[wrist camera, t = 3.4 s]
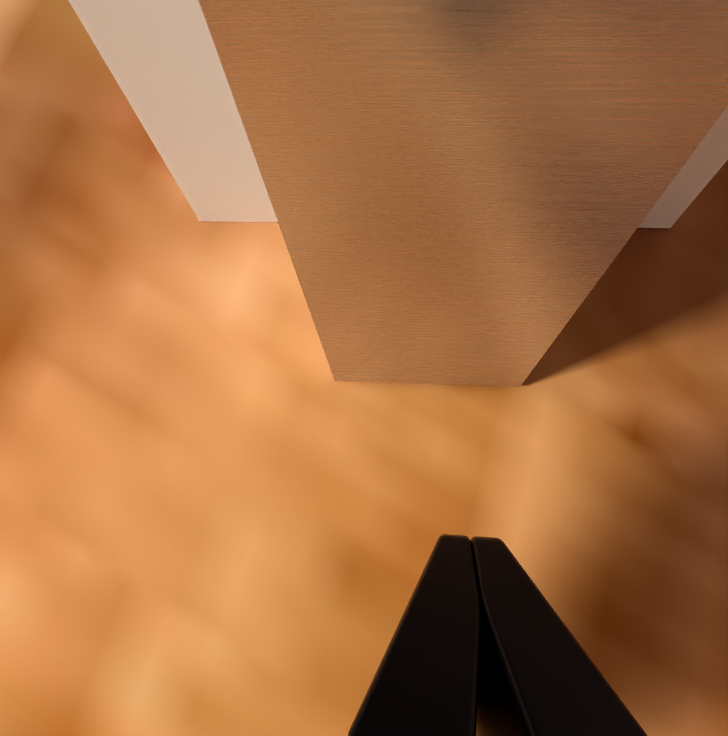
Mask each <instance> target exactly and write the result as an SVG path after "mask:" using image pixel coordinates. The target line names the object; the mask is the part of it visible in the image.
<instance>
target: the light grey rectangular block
mask: <svg viewBox="0 0 728 736" xmlns="http://www.w3.org/2000/svg"><path fill="white" fill-rule="evenodd" d="M199 3H200V6H201V9H202V11H203V14H204V17H205V20H206V22H207V25H208V28H209V31H210V34H211V36H212V39H213V42H214V45H215V48H216V50H217V53H218V56H219V59H220V62H221V64H222V67H223V70H224V73H225V75H226V78H227V81H228V84H229V87H230V89H231V92H232V95H233V98H234V101H235V103H236V106H237V109H238V112H239V115H240V117H241V120H242V123H243V126H244V129H245V131H246V134H247V137H248V140H249V142H250V145H251V148H252V151H253V154H254V156H255V159H256V162H257V165H258V168H259V170H260V173H261V176H262V179H263V182H264V184H265V187H266V190H267V193H268V195H269V198H270V201H271V204H272V207H273V209H274V212H275V215H276V218H277V221H278V223H279V226H280V229H281V232H282V235H283V237H284V240H285V243H286V246H287V249H288V251H289V254H290V257H291V260H292V262H293V265H294V268H295V271H296V274H297V276H298V279H299V282H300V285H301V288H302V290H303V293H304V296H305V299H306V302H307V304H308V307H309V310H310V313H311V315H312V318H313V321H314V324H315V327H316V329H317V332H318V335H319V338H320V341H321V343H322V346H323V349H324V352H325V355H326V357H327V360H328V363H329V366H330V369H331V371H332V374H333V377H334V380H335V381H350V382H382V383H414V384H446V385H478V386H509V387H520V386H521V385H522V383H523V382H524V381H525V379H526V378H527V377H528V375H529V374H530V373H531V371H532V370H533V369H534V367H535V366H536V364H537V363H538V362H539V360H540V359H541V358H542V356H543V355H544V354H545V352H546V351H547V350H548V348H549V347H550V346H551V344H552V343H553V341H554V340H555V339H556V337H557V336H558V335H559V333H560V332H561V331H562V329H563V328H564V327H565V325H566V324H567V323H568V321H569V320H570V318H571V317H572V316H573V314H574V313H575V312H576V310H577V309H578V308H579V306H580V305H581V304H582V302H583V301H584V300H585V298H586V297H587V295H588V294H589V293H590V291H591V290H592V289H593V287H594V286H595V285H596V283H597V282H598V281H599V279H600V278H601V277H602V275H603V274H604V272H605V271H606V270H607V268H608V267H609V266H610V264H611V263H612V262H613V260H614V259H615V258H616V256H617V255H618V254H619V252H620V251H621V249H622V248H623V247H624V245H625V244H626V243H627V241H628V240H629V239H630V237H631V236H632V235H633V233H634V232H635V231H636V229H637V228H638V226H639V225H640V224H641V222H642V221H643V220H644V218H645V217H646V216H647V214H648V213H649V212H650V210H651V209H652V208H653V206H654V205H655V203H656V202H657V201H658V199H659V198H660V197H661V195H662V194H663V193H664V191H665V190H666V189H667V187H668V186H669V185H670V183H671V182H672V180H673V179H674V178H675V176H676V175H677V174H678V172H679V171H680V170H681V168H682V167H683V166H684V164H685V163H686V162H687V160H688V159H689V157H690V156H691V155H692V153H693V152H694V151H695V149H696V148H697V147H698V145H699V144H700V143H701V141H702V140H703V139H704V137H705V136H706V134H707V133H708V132H709V130H710V129H711V128H712V126H713V125H714V124H715V122H716V121H717V120H718V118H719V117H720V116H721V114H722V113H723V111H724V110H725V109H726V107H727V106H728V0H199Z"/></svg>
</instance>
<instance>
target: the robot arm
mask: <svg viewBox="0 0 728 736" xmlns="http://www.w3.org/2000/svg"><path fill="white" fill-rule="evenodd" d="M348 736H647V734H646V733H645V732H644V730H643V729H642V728H641V726H640V725H639V724H638V722H637V721H636V720H635V718H634V717H633V716H632V714H631V713H630V712H629V710H628V709H627V708H626V706H625V705H624V704H623V702H622V701H621V700H620V698H619V697H618V695H617V694H616V693H615V691H614V690H613V689H612V687H611V686H610V685H609V683H608V682H607V681H606V679H605V678H604V677H603V675H602V674H601V673H600V671H599V670H598V669H597V667H596V666H595V665H594V663H593V662H592V661H591V659H590V658H589V657H588V655H587V654H586V652H585V651H584V650H583V648H582V647H581V646H580V644H579V643H578V642H577V640H576V639H575V638H574V636H573V635H572V634H571V632H570V631H569V630H568V628H567V627H566V626H565V624H564V623H563V622H562V620H561V619H560V618H559V616H558V615H557V613H556V612H555V611H554V609H553V608H552V607H551V605H550V604H549V603H548V601H547V600H546V599H545V597H544V596H543V595H542V593H541V592H540V591H539V589H538V588H537V587H536V585H535V584H534V583H533V581H532V580H531V579H530V577H529V576H528V575H527V573H526V572H525V570H524V569H523V568H522V566H521V565H520V564H519V562H518V561H517V560H516V558H515V557H514V556H513V554H512V553H511V552H510V550H509V549H508V548H507V546H506V545H505V544H504V542H503V541H502V540H500V539H499V538H492V537H477V536H475V537H473V538H471V540H470V539H469V538H468V537H467V536H462V535H448V534H443V535H441V536H440V537H439V538H438V540H437V542H436V545H435V547H434V549H433V551H432V553H431V555H430V558H429V560H428V562H427V564H426V566H425V568H424V570H423V573H422V575H421V577H420V579H419V581H418V583H417V586H416V588H415V590H414V592H413V594H412V596H411V598H410V601H409V603H408V605H407V607H406V609H405V611H404V614H403V616H402V618H401V620H400V622H399V624H398V627H397V629H396V631H395V633H394V635H393V637H392V639H391V642H390V644H389V646H388V648H387V650H386V652H385V655H384V657H383V659H382V661H381V663H380V665H379V668H378V670H377V672H376V674H375V676H374V678H373V680H372V683H371V685H370V687H369V689H368V691H367V693H366V696H365V698H364V700H363V702H362V704H361V706H360V709H359V711H358V713H357V715H356V717H355V719H354V721H353V724H352V726H351V728H350V730H349V733H348Z"/></svg>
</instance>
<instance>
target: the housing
mask: <svg viewBox="0 0 728 736" xmlns="http://www.w3.org/2000/svg"><path fill="white" fill-rule="evenodd" d="M69 2H70V4H71V5H72V7H73V9H74V11H75V12H76V14H77V16H78V17H79V19H80V21H81V22H82V24H83V26H84V27H85V29H86V31H87V32H88V34H89V36H90V37H91V39H92V41H93V43H94V44H95V46H96V48H97V49H98V51H99V53H100V54H101V56H102V58H103V59H104V61H105V63H106V64H107V66H108V68H109V70H110V71H111V73H112V75H113V76H114V78H115V80H116V81H117V83H118V85H119V86H120V88H121V90H122V91H123V93H124V95H125V96H126V98H127V100H128V102H129V103H130V105H131V107H132V108H133V110H134V112H135V113H136V115H137V117H138V118H139V120H140V122H141V123H142V125H143V127H144V128H145V130H146V132H147V134H148V135H149V137H150V139H151V140H152V142H153V144H154V145H155V147H156V149H157V150H158V152H159V154H160V155H161V157H162V159H163V160H164V162H165V164H166V166H167V167H168V169H169V171H170V172H171V174H172V176H173V177H174V179H175V181H176V182H177V184H178V186H179V187H180V189H181V191H182V192H183V194H184V196H185V198H186V199H187V201H188V203H189V204H190V206H191V208H192V209H193V211H194V213H195V214H196V216H197V218H198V219H199V221H209V222H277V223H278V221H277V218H276V215H275V212H274V209H273V207H272V204H271V201H270V198H269V195H268V193H267V190H266V187H265V184H264V182H263V179H262V176H261V173H260V170H259V168H258V165H257V162H256V159H255V156H254V154H253V151H252V148H251V145H250V142H249V140H248V137H247V134H246V131H245V129H244V126H243V123H242V120H241V117H240V115H239V112H238V109H237V106H236V103H235V101H234V98H233V95H232V92H231V89H230V87H229V84H228V81H227V78H226V75H225V73H224V70H223V67H222V64H221V62H220V59H219V56H218V53H217V50H216V48H215V45H214V42H213V39H212V36H211V34H210V31H209V28H208V25H207V22H206V20H205V17H204V14H203V11H202V9H201V6H200V3H199V0H69ZM727 160H728V106H727V107H726V109H725V110H724V111H723V113H722V114H721V116H720V117H719V118H718V120H717V121H716V122H715V124H714V125H713V126H712V128H711V129H710V130H709V132H708V133H707V134H706V136H705V137H704V139H703V140H702V141H701V143H700V144H699V145H698V147H697V148H696V149H695V151H694V152H693V153H692V155H691V156H690V157H689V159H688V160H687V162H686V163H685V164H684V166H683V167H682V168H681V170H680V171H679V172H678V174H677V175H676V176H675V178H674V179H673V180H672V182H671V183H670V185H669V186H668V187H667V189H666V190H665V191H664V193H663V194H662V195H661V197H660V198H659V199H658V201H657V202H656V203H655V205H654V206H653V208H652V209H651V210H650V212H649V213H648V214H647V216H646V217H645V218H644V220H643V221H642V222H641V224H640V225H639V226H638V228H671V227H672V226H673V224H674V223H675V222H676V221H677V220H678V218H679V217H680V216H681V215H682V214H683V212H684V211H685V210H686V209H687V208H688V206H689V205H690V204H691V203H692V202H693V201H694V199H695V198H696V197H697V196H698V195H699V193H700V192H701V191H702V190H703V189H704V187H705V186H706V185H707V184H708V183H709V181H710V180H711V179H712V178H713V177H714V176H715V174H716V173H717V172H718V171H719V170H720V168H721V167H722V166H723V165H724V164H725V162H726V161H727Z"/></svg>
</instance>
